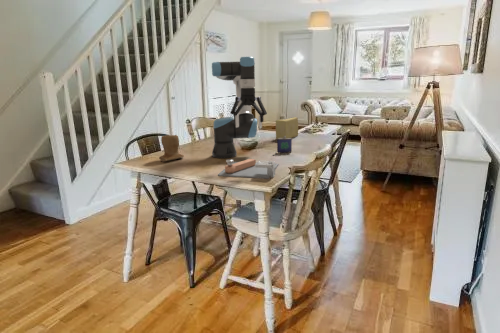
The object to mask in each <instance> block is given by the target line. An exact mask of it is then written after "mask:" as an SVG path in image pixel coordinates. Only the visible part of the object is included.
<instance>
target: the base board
mask: <svg viewBox="0 0 500 333" xmlns="http://www.w3.org/2000/svg"><path fill="white" fill-rule="evenodd" d="M238 162H239V161H234V162H232V163H233V164H235V163H238ZM279 166H280V164H279V163H275V170H277V168H278V167H279ZM217 176H218V177H233V178H252V179H265V180H267V179H270V178H271V177H270V176H267V168H256V167H255V165H254V166H251V167H248V168H245V169H242V170H239V171H236V172H234V173H226V172H225V168H224V169H222V170H221V171H220V172H219V173H217Z"/></svg>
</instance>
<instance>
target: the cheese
mask: <svg viewBox="0 0 500 333" xmlns="http://www.w3.org/2000/svg"><path fill="white" fill-rule="evenodd" d="M284 136H286V138H292V139H293V138H296V137H298V136H299V119H298V117H296V116H295V117H291V118H287V119H277V120H275V139H276V140H277V139H278V138H283V137H284Z"/></svg>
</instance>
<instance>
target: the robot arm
mask: <svg viewBox="0 0 500 333" xmlns="http://www.w3.org/2000/svg"><path fill="white" fill-rule="evenodd" d="M255 64H256V63H255V58H254V57H253V56H241V57H240V58H239V61H213V62H212V63H211V74H212V76H213V77H215V78H217V79H219V80H222V81H232V82H233V84H234V85H235V93H236V97H235V100H234V104H233V105H232V107H231V111H230V115H233V117H232V116H225V117H221V118H216V119H215V120H214V121H213V127H212V128H213V139H214V140H213V141H214V142H213V143H214V144H213V148H212V152H211V154H212V155H211V156H212V157H213V158H215V159H230V158H231V159H232V158H234V157H236V156H237V155H238V153H237V152H238V151H237V149H236V147H235V143H234V139H250V138H252V139H253V138H255V137H256V136H257V131H258V130H257V129H262V128H263V123H264V116H265V115H267V114H268V112H267V111H266V108H265V106H264V103H263V101H262V97H261V96H257V97H256V88H255V87H256V82H255V79H256V78H255V76H256V75H255V74H256V73H255ZM256 102H257V103H256ZM252 107H253V108H254V110H255V111H256V113H257V114H258V118H255V115H254V114H253V113H252Z"/></svg>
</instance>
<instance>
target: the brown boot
mask: <svg viewBox="0 0 500 333" xmlns="http://www.w3.org/2000/svg"><path fill="white" fill-rule="evenodd" d="M160 139H161V145H162V147H163V151H164V154H163V155H161V156H159V157H158V158H159V160H160V161H161V162H164V163H166V162H170V161H174V160H177V159H182V158H184V157H185V155H183V154H181V153H179V148H180V146H179V145H180V138H179V136H178V135H177V134H175V135H174V134H173V135H172V134H170V135H169V134H168V135H166V134H165V135H162V136H161V138H160Z"/></svg>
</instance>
